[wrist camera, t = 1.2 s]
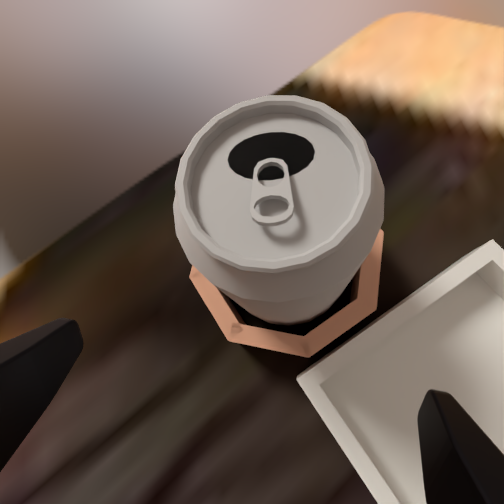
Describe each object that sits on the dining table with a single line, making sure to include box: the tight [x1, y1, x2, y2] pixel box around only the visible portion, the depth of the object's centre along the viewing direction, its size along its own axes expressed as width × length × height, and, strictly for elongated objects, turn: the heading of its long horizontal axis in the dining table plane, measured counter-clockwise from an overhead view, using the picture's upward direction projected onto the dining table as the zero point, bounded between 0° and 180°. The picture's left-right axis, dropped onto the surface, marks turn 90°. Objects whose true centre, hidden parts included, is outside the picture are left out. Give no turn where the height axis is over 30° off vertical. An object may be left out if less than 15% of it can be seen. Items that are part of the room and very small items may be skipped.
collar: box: [190, 229, 384, 358], centre depth 20 cm, size 10×10×3 cm
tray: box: [296, 239, 504, 504], centre depth 16 cm, size 13×13×3 cm
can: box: [173, 95, 384, 326], centre depth 15 cm, size 8×8×12 cm
